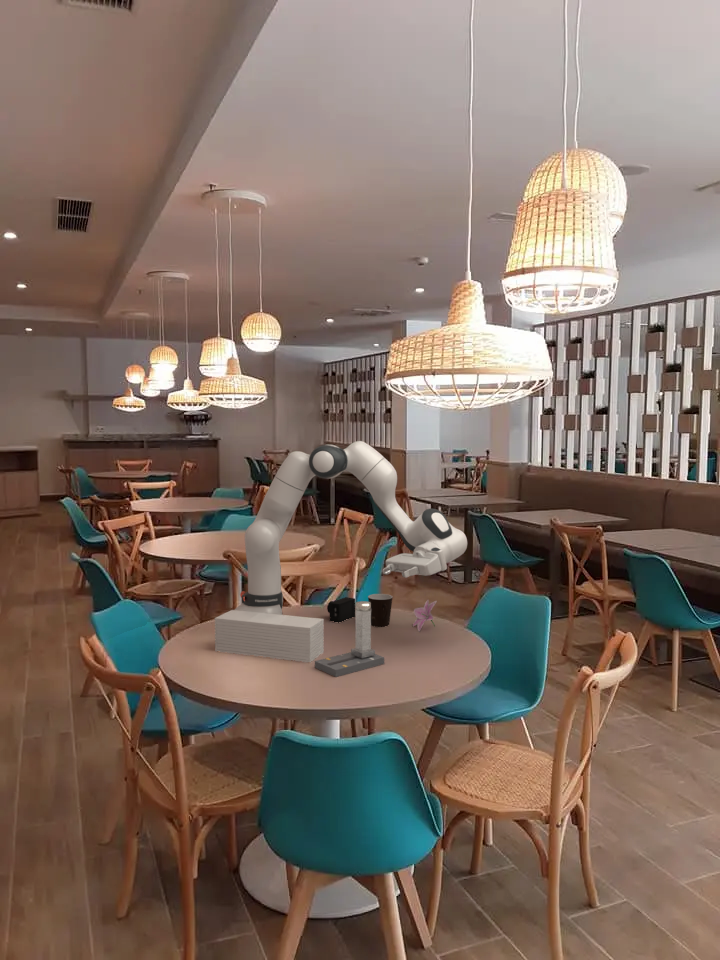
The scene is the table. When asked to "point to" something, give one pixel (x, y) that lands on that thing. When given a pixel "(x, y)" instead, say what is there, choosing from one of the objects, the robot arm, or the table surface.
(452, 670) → the table surface
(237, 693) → the table surface
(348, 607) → the digital camera
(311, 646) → the stack of papers
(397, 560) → the robot arm
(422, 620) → the lily
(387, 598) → the coffee mug
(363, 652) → the lever
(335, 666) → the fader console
